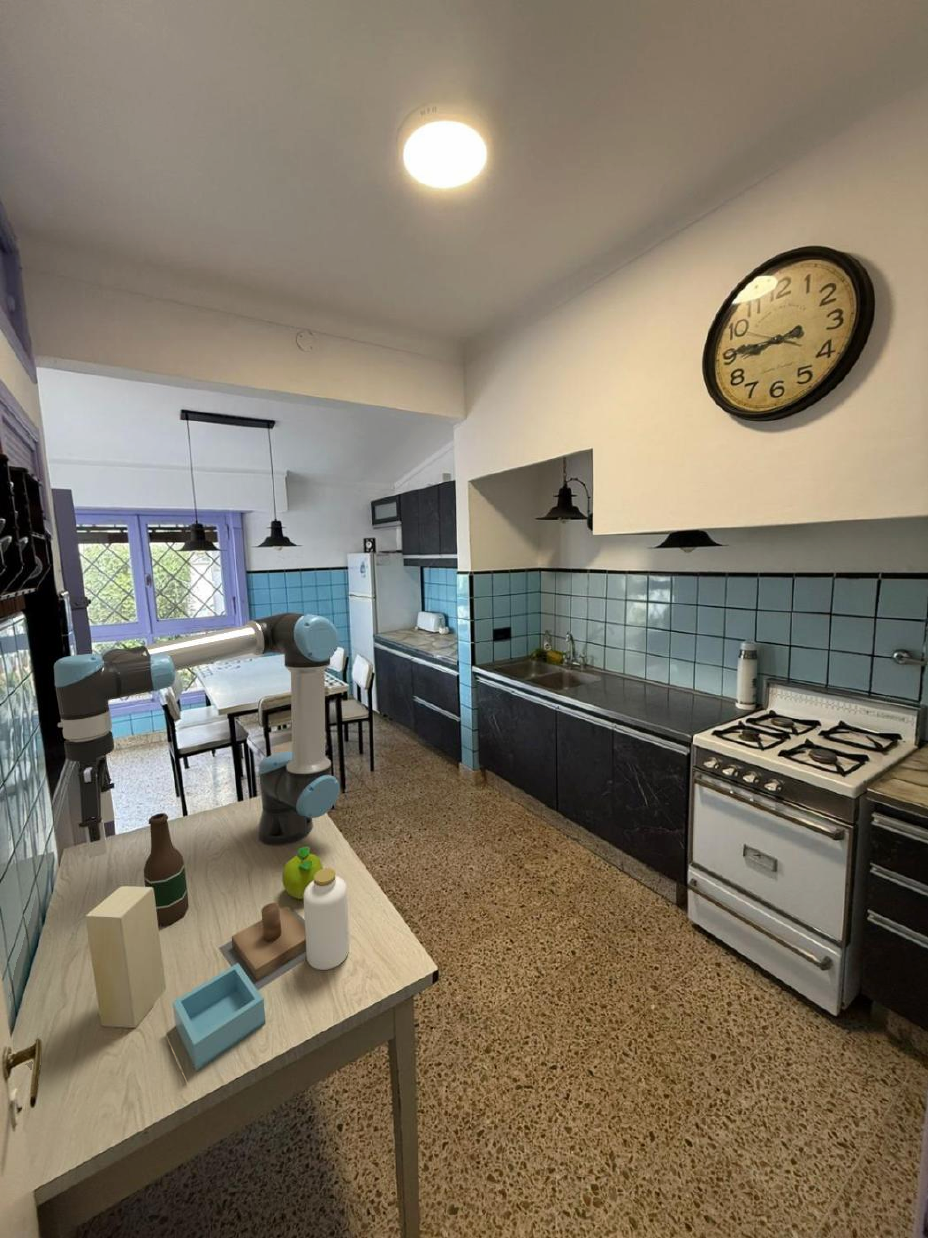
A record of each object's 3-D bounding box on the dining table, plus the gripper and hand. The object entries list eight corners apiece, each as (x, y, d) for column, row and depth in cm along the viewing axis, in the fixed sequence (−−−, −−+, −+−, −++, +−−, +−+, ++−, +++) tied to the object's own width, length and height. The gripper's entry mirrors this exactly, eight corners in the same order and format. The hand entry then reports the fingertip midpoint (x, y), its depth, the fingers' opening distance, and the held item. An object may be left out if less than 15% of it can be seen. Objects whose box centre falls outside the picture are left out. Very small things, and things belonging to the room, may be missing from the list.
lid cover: (287, 916, 111) (284, 881, 110) (314, 945, 102) (311, 907, 101) (232, 947, 102) (228, 910, 101) (256, 981, 94) (253, 941, 93)
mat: (292, 908, 114) (292, 907, 114) (328, 946, 103) (328, 944, 102) (218, 949, 102) (218, 948, 102) (250, 996, 91) (250, 994, 91)
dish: (240, 986, 93) (238, 963, 93) (265, 1024, 86) (263, 998, 85) (175, 1027, 86) (172, 1001, 85) (197, 1073, 78) (193, 1045, 77)
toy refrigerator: (131, 986, 94) (117, 885, 91) (167, 989, 93) (154, 886, 90) (96, 1026, 86) (80, 916, 83) (135, 1029, 85) (120, 918, 83)
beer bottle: (171, 930, 108) (159, 827, 105) (141, 925, 110) (128, 824, 106) (197, 905, 116) (186, 808, 112) (168, 901, 117) (157, 806, 114)
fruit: (323, 877, 124) (321, 840, 123) (325, 902, 115) (322, 862, 114) (284, 886, 122) (281, 848, 120) (283, 912, 113) (279, 871, 111)
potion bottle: (357, 955, 100) (354, 875, 97) (320, 981, 94) (316, 896, 91) (335, 932, 106) (332, 855, 103) (299, 955, 100) (294, 874, 97)
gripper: (74, 720, 105) (88, 814, 107) (49, 762, 83) (67, 878, 86) (117, 713, 108) (129, 805, 111) (104, 752, 87) (119, 863, 90)
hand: (102, 837), depth 99 cm, fingers open, 13 cm apart
